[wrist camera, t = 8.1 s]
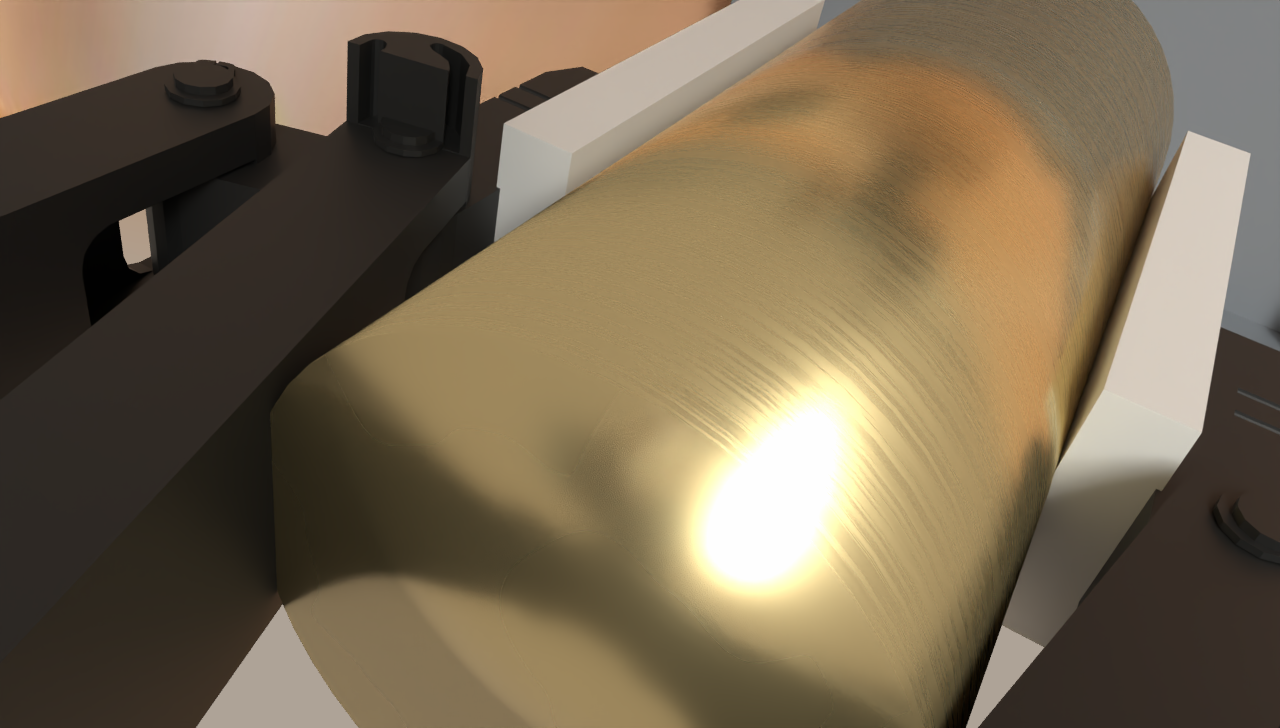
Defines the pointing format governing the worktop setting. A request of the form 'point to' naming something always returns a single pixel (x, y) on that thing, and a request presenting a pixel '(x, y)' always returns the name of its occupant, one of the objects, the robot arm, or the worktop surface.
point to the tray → (1224, 129)
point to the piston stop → (738, 396)
